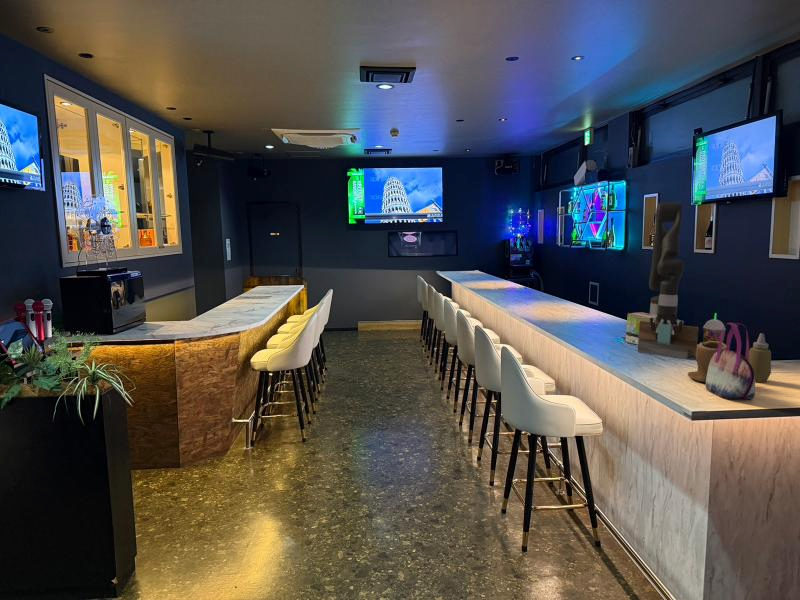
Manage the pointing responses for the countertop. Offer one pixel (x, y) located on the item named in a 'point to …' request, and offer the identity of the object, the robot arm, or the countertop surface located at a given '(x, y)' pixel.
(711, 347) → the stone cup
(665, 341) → the cabinet
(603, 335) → the countertop surface
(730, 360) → the handbag
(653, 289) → the robot arm
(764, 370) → the squeeze bottle
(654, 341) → the wall board
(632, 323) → the tea box
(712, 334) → the smoothie
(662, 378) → the countertop surface
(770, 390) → the countertop surface
